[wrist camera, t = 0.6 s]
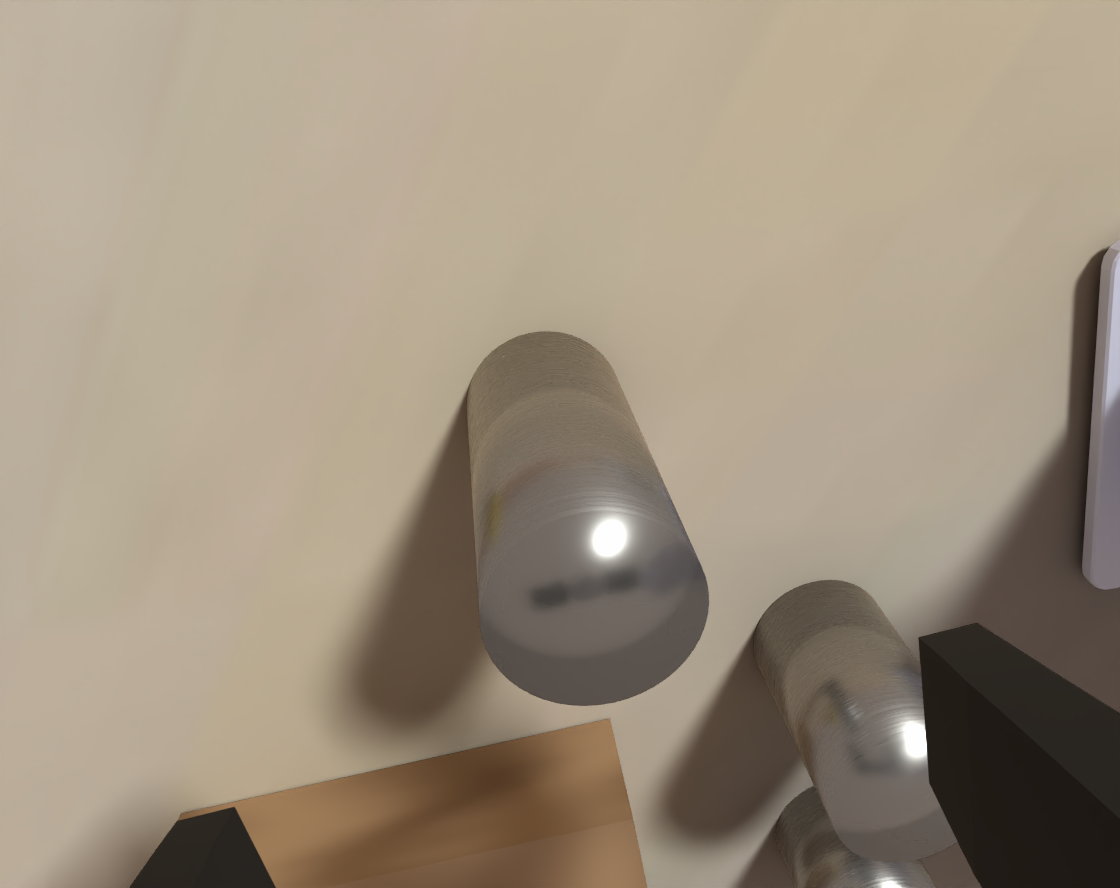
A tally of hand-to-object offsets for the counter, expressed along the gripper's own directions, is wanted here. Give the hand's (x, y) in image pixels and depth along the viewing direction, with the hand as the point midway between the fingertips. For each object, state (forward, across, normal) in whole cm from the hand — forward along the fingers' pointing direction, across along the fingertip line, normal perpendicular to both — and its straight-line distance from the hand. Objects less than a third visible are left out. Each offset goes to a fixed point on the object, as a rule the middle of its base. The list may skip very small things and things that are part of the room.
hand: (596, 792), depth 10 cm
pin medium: (+10, -5, +7) cm, 13 cm away
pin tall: (+10, 0, 0) cm, 10 cm away
